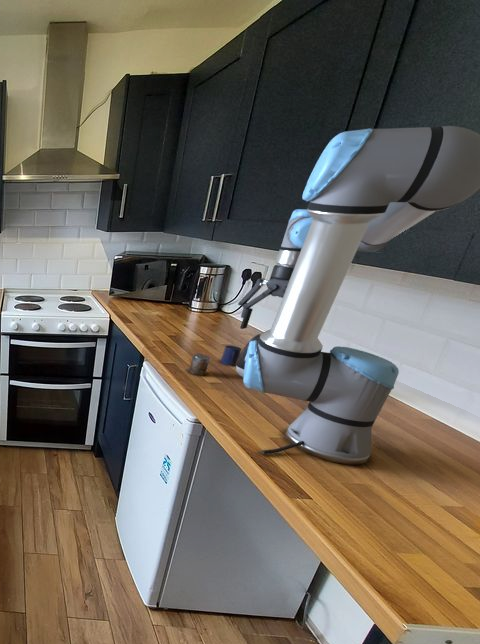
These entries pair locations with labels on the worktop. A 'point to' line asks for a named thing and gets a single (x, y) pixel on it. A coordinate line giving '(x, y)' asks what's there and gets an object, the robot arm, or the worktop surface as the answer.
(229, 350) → the dark blue cylinder
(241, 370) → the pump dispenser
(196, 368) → the dark brown cylinder
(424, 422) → the worktop surface
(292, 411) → the worktop surface
